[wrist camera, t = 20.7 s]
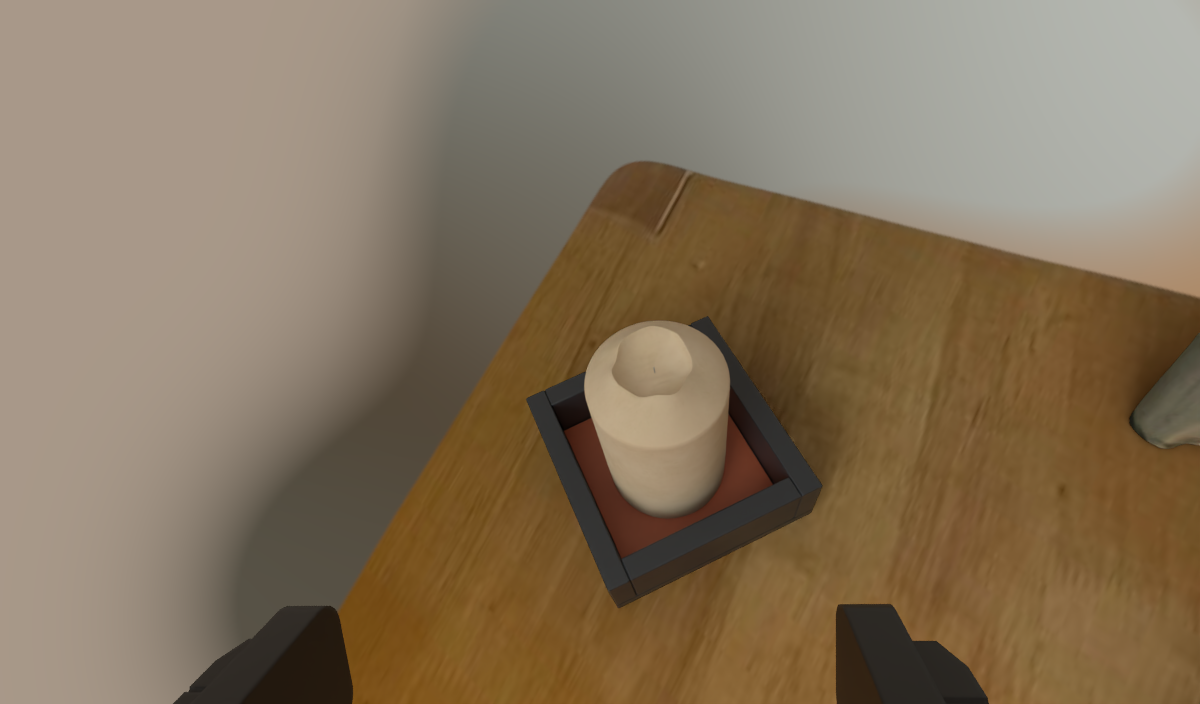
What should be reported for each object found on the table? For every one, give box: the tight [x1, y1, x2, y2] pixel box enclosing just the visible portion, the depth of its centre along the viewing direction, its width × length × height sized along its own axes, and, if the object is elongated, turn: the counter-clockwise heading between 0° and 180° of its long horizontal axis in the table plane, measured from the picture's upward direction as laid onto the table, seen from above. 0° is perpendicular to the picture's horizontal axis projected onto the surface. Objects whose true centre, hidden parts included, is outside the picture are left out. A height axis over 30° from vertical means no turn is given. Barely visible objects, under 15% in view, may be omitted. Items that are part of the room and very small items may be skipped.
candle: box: [584, 321, 730, 519], centre depth 27 cm, size 6×6×10 cm
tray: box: [526, 316, 822, 608], centre depth 31 cm, size 10×10×4 cm
